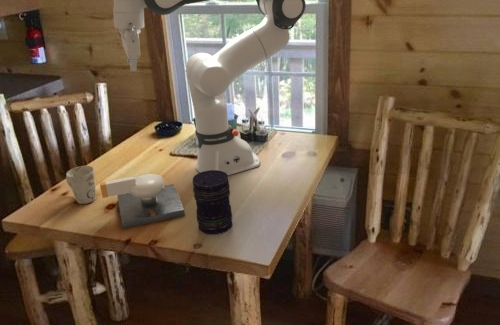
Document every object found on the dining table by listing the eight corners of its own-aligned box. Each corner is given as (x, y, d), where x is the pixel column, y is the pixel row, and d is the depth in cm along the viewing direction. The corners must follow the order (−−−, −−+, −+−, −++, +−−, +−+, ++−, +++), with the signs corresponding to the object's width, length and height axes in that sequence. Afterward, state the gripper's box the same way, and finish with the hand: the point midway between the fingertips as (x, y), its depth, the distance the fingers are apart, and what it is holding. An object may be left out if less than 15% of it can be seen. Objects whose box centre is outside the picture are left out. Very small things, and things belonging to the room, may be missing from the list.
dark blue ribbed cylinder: (211, 213, 147) (205, 167, 141) (239, 220, 142) (235, 173, 136) (191, 230, 139) (184, 182, 133) (220, 238, 135) (215, 189, 128)
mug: (85, 208, 155) (78, 179, 151) (58, 199, 161) (51, 171, 157) (105, 196, 161) (99, 168, 157) (79, 188, 168) (72, 161, 164)
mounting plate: (174, 189, 163) (172, 173, 160) (185, 215, 147) (182, 198, 144) (118, 200, 158) (114, 184, 156) (123, 228, 142) (119, 211, 140)
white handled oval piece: (161, 180, 156) (159, 165, 153) (166, 194, 147) (164, 179, 145) (102, 191, 151) (99, 177, 149) (104, 207, 142) (100, 191, 140)
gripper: (143, 26, 141) (146, 74, 146) (136, 17, 159) (139, 60, 164) (120, 26, 139) (124, 75, 144) (116, 17, 157) (119, 61, 162)
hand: (132, 67), depth 154 cm, fingers open, 8 cm apart
